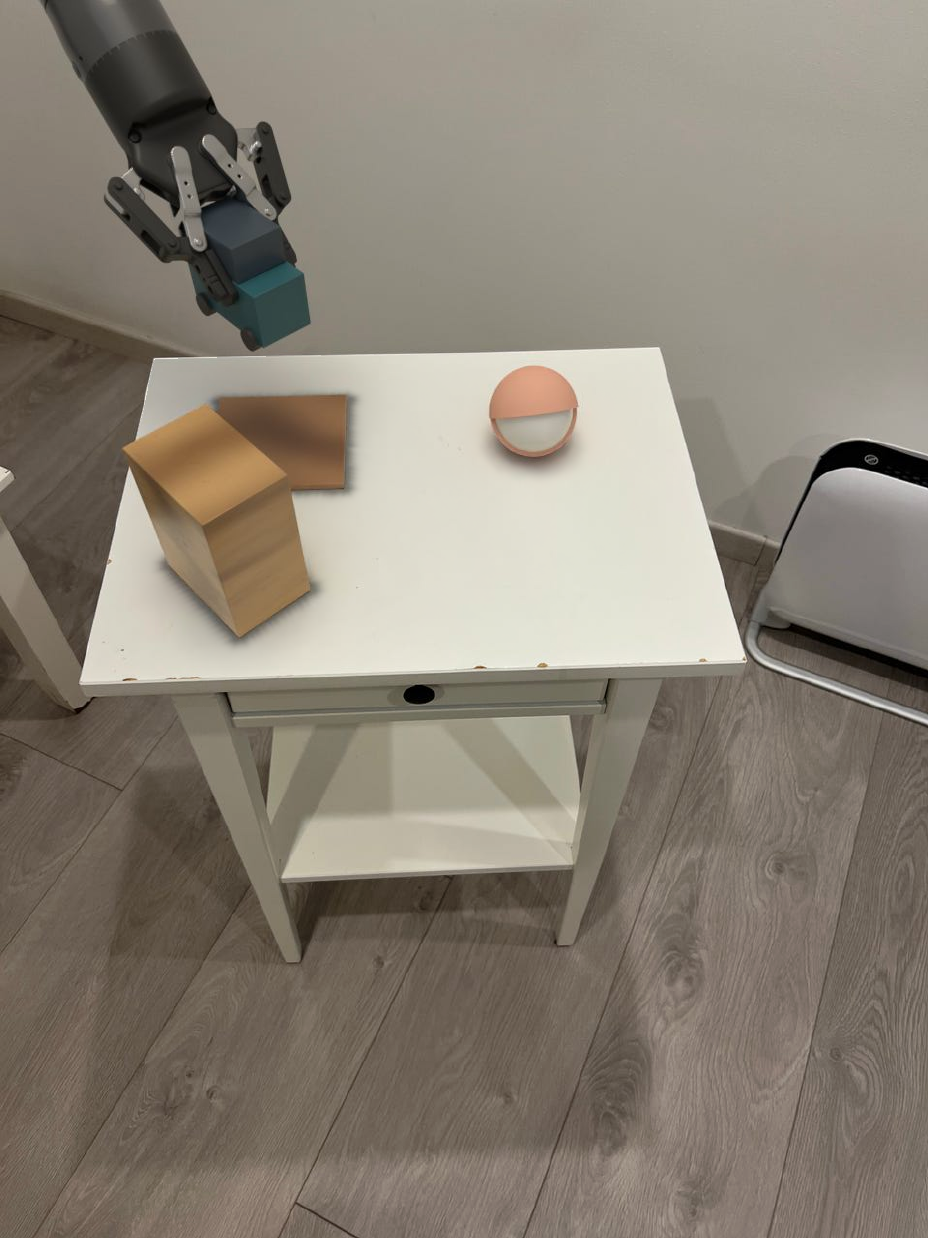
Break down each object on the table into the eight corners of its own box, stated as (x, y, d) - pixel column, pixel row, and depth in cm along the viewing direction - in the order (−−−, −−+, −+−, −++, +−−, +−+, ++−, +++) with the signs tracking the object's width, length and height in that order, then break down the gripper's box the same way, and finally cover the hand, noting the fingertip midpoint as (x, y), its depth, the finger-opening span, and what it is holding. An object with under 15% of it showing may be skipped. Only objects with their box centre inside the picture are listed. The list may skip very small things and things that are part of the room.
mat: (344, 488, 77) (343, 483, 76) (207, 492, 76) (205, 487, 76) (346, 399, 84) (346, 394, 83) (221, 401, 83) (220, 397, 83)
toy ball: (496, 478, 78) (501, 409, 72) (479, 420, 82) (482, 351, 76) (581, 467, 79) (594, 399, 73) (560, 411, 83) (570, 342, 77)
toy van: (194, 306, 70) (168, 211, 63) (249, 280, 72) (230, 185, 66) (260, 359, 66) (241, 264, 60) (316, 330, 69) (303, 235, 62)
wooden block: (311, 589, 70) (288, 474, 60) (239, 638, 67) (201, 525, 57) (239, 522, 74) (205, 402, 64) (168, 565, 71) (121, 447, 61)
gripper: (40, 58, 54) (193, 312, 59) (230, 0, 60) (354, 236, 65) (31, 116, 61) (169, 341, 66) (204, 59, 67) (319, 269, 72)
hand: (261, 287), depth 66 cm, fingers closed on toy van, 4 cm apart
